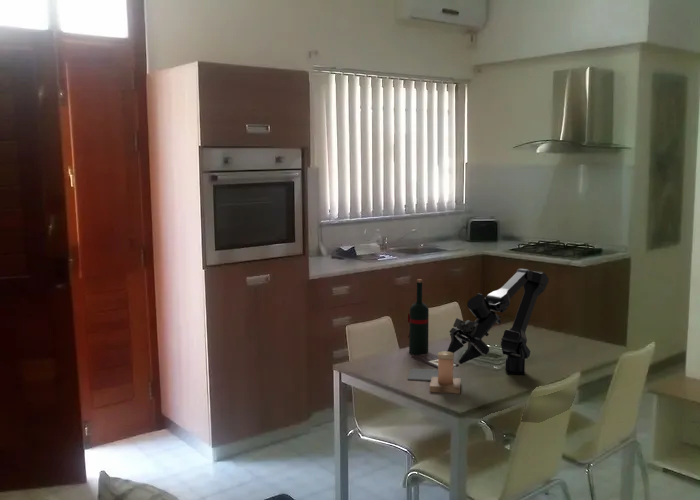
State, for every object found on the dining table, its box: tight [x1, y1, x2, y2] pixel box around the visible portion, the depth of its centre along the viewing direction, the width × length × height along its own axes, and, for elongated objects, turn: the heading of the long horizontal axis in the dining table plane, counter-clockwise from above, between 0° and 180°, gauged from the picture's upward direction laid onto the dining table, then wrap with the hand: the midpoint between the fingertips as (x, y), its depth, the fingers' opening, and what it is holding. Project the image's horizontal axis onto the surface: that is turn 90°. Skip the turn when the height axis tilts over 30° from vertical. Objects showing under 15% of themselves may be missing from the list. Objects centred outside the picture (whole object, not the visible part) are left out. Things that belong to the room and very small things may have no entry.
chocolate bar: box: [411, 352, 460, 369], centre depth 260 cm, size 9×1×18 cm
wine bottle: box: [407, 278, 430, 356], centre depth 272 cm, size 8×10×30 cm
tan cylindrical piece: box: [437, 350, 455, 385], centre depth 229 cm, size 6×6×10 cm
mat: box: [407, 368, 438, 382], centre depth 243 cm, size 14×12×1 cm
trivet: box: [429, 377, 462, 394], centre depth 230 cm, size 10×10×2 cm
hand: (453, 359), depth 230 cm, fingers open, 9 cm apart
